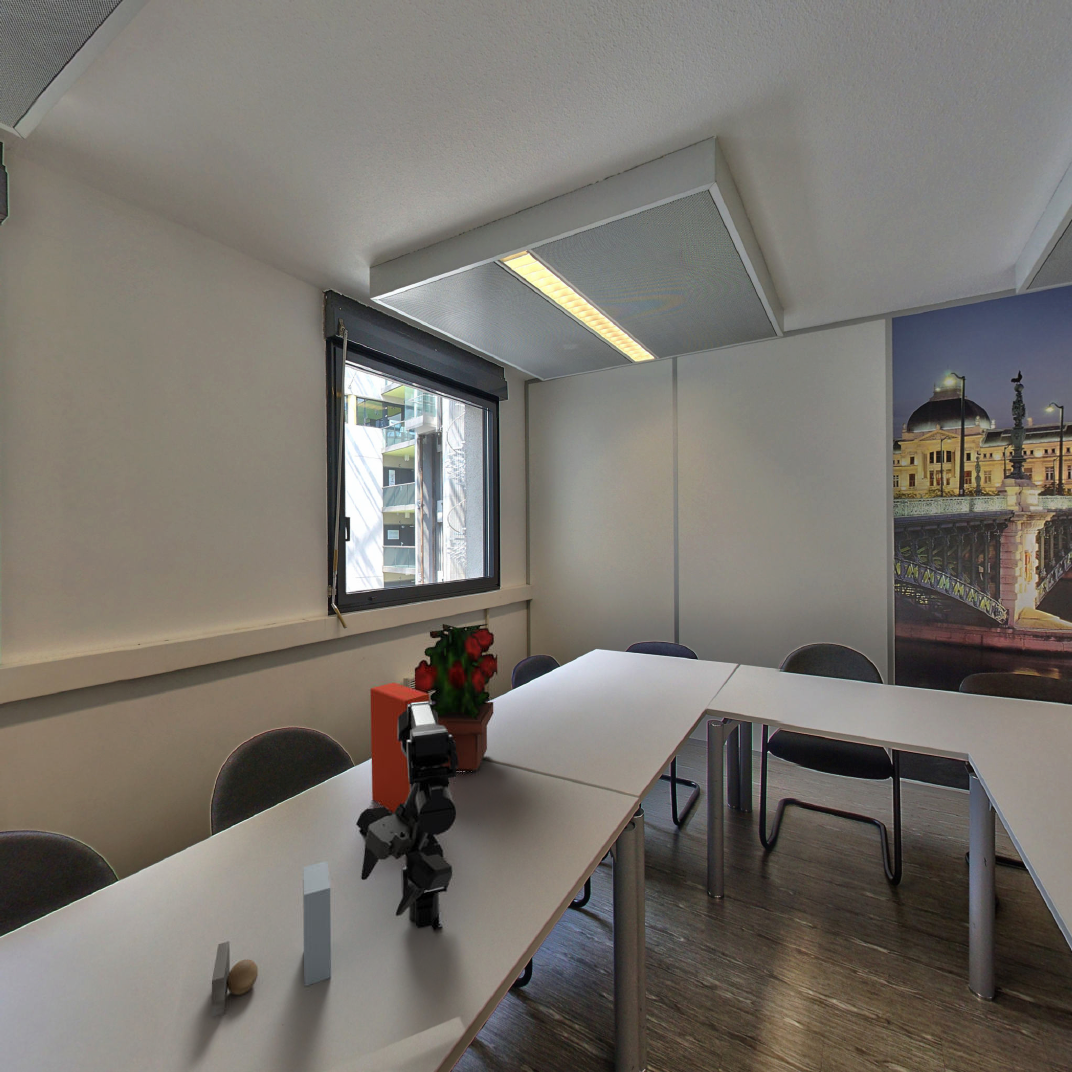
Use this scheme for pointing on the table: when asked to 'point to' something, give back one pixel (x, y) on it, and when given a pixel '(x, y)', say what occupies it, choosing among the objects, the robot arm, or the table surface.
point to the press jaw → (316, 923)
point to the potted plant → (460, 688)
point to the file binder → (390, 743)
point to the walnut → (242, 977)
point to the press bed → (220, 979)
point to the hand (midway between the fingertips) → (380, 896)
